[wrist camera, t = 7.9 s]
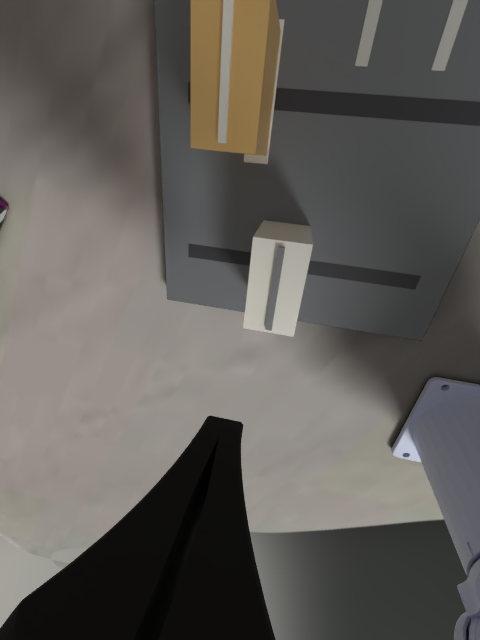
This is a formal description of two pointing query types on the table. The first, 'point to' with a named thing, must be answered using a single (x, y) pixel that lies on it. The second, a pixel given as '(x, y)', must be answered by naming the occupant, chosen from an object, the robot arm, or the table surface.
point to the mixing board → (335, 161)
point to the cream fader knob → (277, 276)
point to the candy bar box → (3, 212)
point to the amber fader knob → (233, 74)
